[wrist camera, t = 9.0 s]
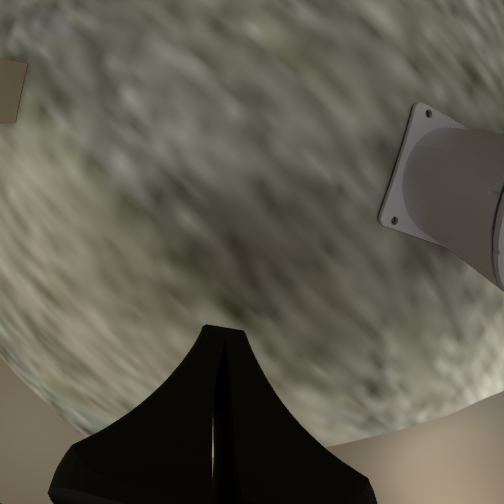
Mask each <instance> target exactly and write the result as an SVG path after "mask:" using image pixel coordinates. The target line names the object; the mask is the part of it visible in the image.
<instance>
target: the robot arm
mask: <svg viewBox="0 0 504 504" xmlns="http://www.w3.org/2000/svg"><path fill="white" fill-rule="evenodd" d="M426 110H427V111H428V112H429V116H428V117H426V115H425V112H426ZM393 217H395V218H396V220H395V222H394V223H391V219H392V218H393ZM378 219H379V222H380V223H381V224H382V225H384V226H386V227H389V228H392V229H395V230H398V231H401V232H404V233H406V234H409V235H412V236H415V237H418V238H421V239H424V240H426V241H429V242H432V243H435V244H438V245H440V246H443V247H445V248H447V249H448V250H450V251H451V252H452V253H454V254H455V255H457V256H458V257H459V258H461V259H462V260H463V261H465V262H466V263H467V264H469V265H470V266H471V267H473V268H474V269H475V270H477V271H478V272H479V273H480V274H482V275H483V276H484V277H486V278H487V279H488V280H489V281H491V282H492V283H493V284H494V285H496V286H497V287H498V288H499V289H501V290H502V291H503V292H504V134H500V133H493V132H486V131H478V130H470V129H468V128H466V127H465V126H463V125H462V124H460V123H458V122H457V121H455V120H453V119H452V118H450V117H448V116H446V115H445V114H443V113H441V112H439V111H438V110H436V109H434V108H432V107H430V106H429V105H427V104H425V103H422V102H418V103H415V104H414V106H413V109H412V112H411V116H410V120H409V123H408V127H407V130H406V134H405V137H404V141H403V144H402V147H401V151H400V154H399V157H398V160H397V163H396V167H395V170H394V173H393V176H392V179H391V182H390V185H389V188H388V191H387V194H386V196H385V199H384V202H383V205H382V208H381V211H380V213H379V217H378ZM212 427H213V432H214V465H213V478H212ZM48 495H49V497H50V499H51V501H52V502H53V504H377V501H376V497H375V494H374V491H373V489H372V486H371V484H370V482H369V479H368V478H367V477H365V476H364V475H362V474H361V473H359V472H357V471H356V470H354V469H353V468H351V467H350V466H348V465H347V464H345V463H344V462H342V461H341V460H339V459H338V458H337V457H336V456H334V455H333V454H332V453H331V452H329V451H328V450H326V448H324V447H323V446H322V445H321V444H320V443H319V442H318V441H317V440H316V439H315V438H314V437H312V436H311V435H310V434H309V433H308V432H307V431H306V430H305V429H304V428H303V427H302V426H301V425H300V423H299V422H298V421H297V420H296V419H295V418H294V417H293V415H292V414H291V413H290V412H289V410H288V409H287V408H286V407H285V405H284V404H283V403H282V401H281V400H280V399H279V397H278V396H277V394H276V393H275V391H274V390H273V388H272V387H271V385H270V383H269V382H268V380H267V378H266V377H265V375H264V373H263V371H262V369H261V367H260V366H259V364H258V362H257V360H256V358H255V355H254V353H253V351H252V349H251V346H250V344H249V342H248V339H247V336H246V333H245V332H244V331H243V330H237V329H231V328H225V327H219V326H213V325H208V324H206V325H204V326H203V327H202V330H201V332H200V335H199V337H198V338H197V340H196V342H195V344H194V345H193V347H192V348H191V350H190V351H189V353H188V354H187V355H186V357H185V358H184V360H183V361H182V362H181V363H180V365H179V366H178V367H177V368H176V369H175V371H174V372H173V373H172V374H171V375H170V376H169V378H168V379H167V380H166V381H165V382H164V383H163V384H162V385H161V386H160V387H159V388H158V389H157V390H156V391H155V392H153V393H152V394H151V395H150V396H149V397H148V398H147V399H145V400H144V401H143V402H142V403H141V404H139V405H138V406H137V407H136V408H134V409H133V410H132V411H130V412H129V413H128V414H126V415H125V416H123V417H122V418H120V419H119V420H117V421H115V422H114V423H112V424H111V425H109V426H108V427H106V428H104V429H103V430H101V431H99V432H97V433H95V434H93V435H91V436H89V437H87V438H85V439H83V440H81V441H79V442H77V443H75V444H73V445H72V446H71V447H70V448H69V450H68V451H67V452H66V454H65V455H64V457H63V459H62V460H61V462H60V464H59V465H58V467H57V469H56V471H55V474H54V476H53V479H52V482H51V485H50V488H49V491H48ZM0 504H2V503H0Z"/></svg>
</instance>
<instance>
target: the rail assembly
mask: <svg viewBox="0 0 504 504" xmlns="http://www.w3.org/2000/svg"><path fill="white" fill-rule="evenodd" d="M27 66H28V64H27V63H22V62H16V61H10V60H4V59H0V124H1V123H12V122H16V117H17V111H18V106H19V100H20V96H21V91H22V86H23V82H24V78H25V73H26V69H27Z"/></svg>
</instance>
